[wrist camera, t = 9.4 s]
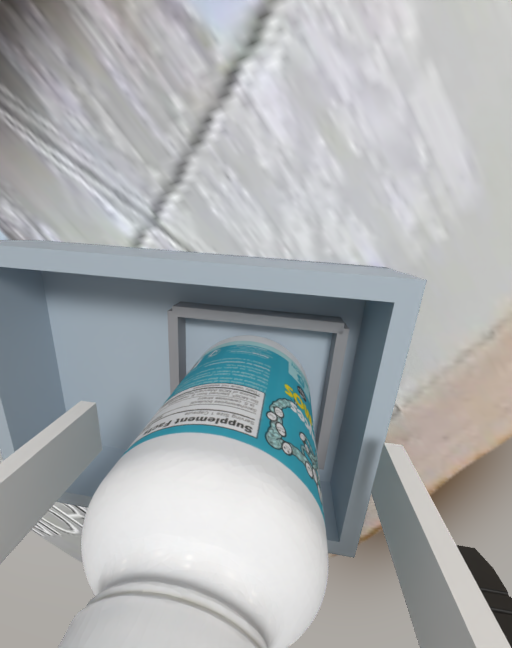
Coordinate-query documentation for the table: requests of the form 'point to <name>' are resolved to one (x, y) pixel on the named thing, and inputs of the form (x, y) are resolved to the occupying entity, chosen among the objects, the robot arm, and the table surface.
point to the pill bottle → (211, 514)
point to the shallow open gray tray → (201, 348)
